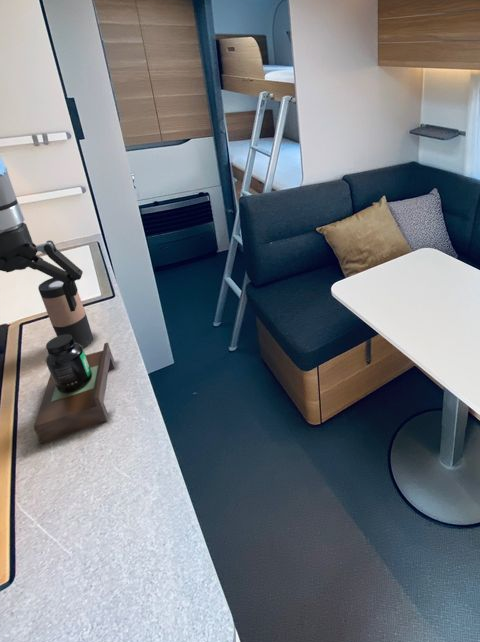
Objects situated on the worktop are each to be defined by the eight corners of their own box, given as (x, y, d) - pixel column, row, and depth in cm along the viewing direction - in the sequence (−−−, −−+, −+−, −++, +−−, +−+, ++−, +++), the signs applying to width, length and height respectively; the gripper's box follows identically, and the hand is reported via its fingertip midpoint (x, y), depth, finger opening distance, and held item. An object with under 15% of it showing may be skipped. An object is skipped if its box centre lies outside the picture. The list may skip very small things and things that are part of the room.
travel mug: (55, 349, 113) (30, 287, 105) (82, 332, 120) (60, 272, 112) (74, 355, 110) (49, 293, 103) (100, 338, 117) (79, 277, 109)
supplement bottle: (100, 374, 97) (85, 333, 92) (73, 396, 91) (56, 354, 86) (77, 369, 99) (62, 328, 94) (50, 390, 92) (31, 348, 88)
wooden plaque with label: (41, 443, 86) (29, 419, 83) (60, 379, 103) (51, 357, 100) (107, 421, 91) (98, 397, 88) (115, 363, 107) (107, 342, 105)
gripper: (-96, 248, 72) (-47, 344, 80) (74, 222, 82) (101, 310, 90) (-76, 232, 78) (-33, 323, 86) (79, 209, 88) (105, 292, 96)
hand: (36, 316), depth 88 cm, fingers open, 13 cm apart
